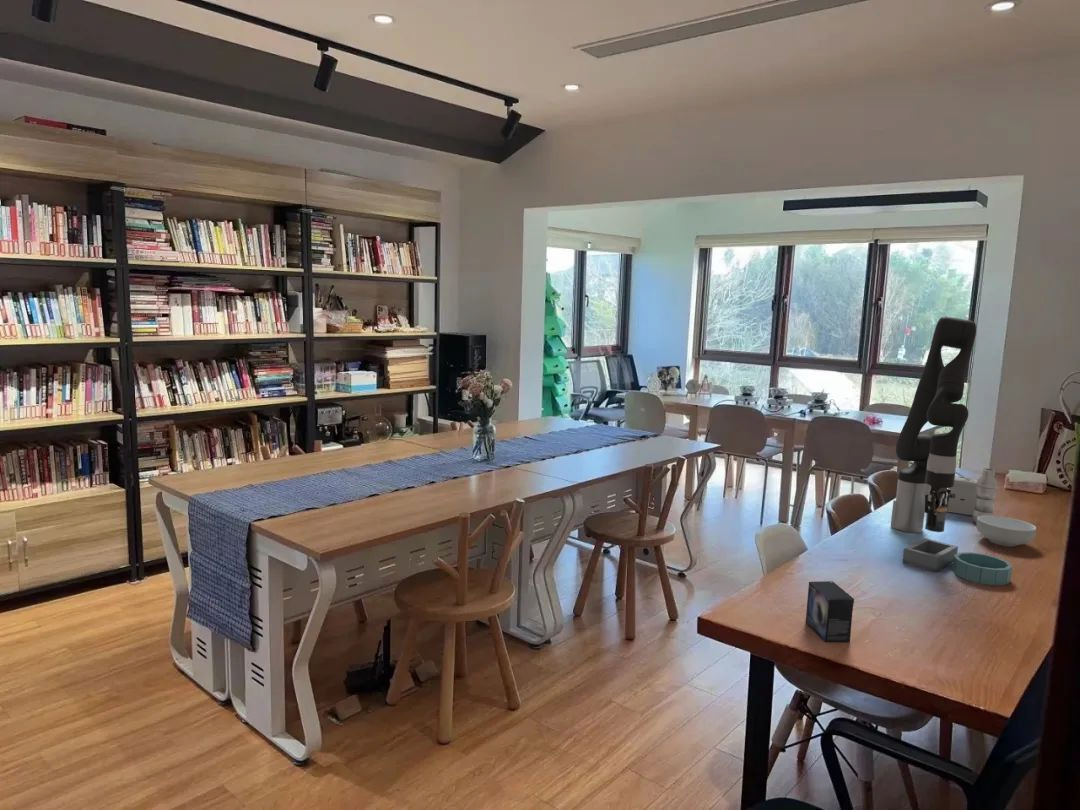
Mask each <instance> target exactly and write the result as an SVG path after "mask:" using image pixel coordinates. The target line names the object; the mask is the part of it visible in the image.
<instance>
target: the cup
mask: <svg viewBox="0 0 1080 810" xmlns="http://www.w3.org/2000/svg"><path fill="white" fill-rule="evenodd" d="M951 571H952V572H953V573H954V575H956V576H958V577H960V578H961V579H963V580H966V581H970V582H974V583H977V584H981V585H989V586H1005V585H1006V586H1007V585H1008V584H1010V583H1011V581H1012V575H1013V574H1012V572H1013V565H1012V564H1011V563H1010V562H1009V561H1007V560H1005V559H1003V558H1001V557H997V556H993V555H989V554H985V553H979V552H969V551H966V552H965V551H964V552H957V554H955V555H954V560H953V563H952V570H951Z"/></svg>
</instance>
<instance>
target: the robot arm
mask: <svg viewBox="0 0 1080 810" xmlns="http://www.w3.org/2000/svg"><path fill="white" fill-rule="evenodd" d="M932 335H933V336H932V339H931V344H930V347H929V351H928V356H927V358H926V362H925V366H924V367H923V371H922V372H921V377H920V379H919V382H918V384H917V388H916V390H915V393H914V397H913V400H912V404H911V407H910V409H909V412H908V416H907V417H906V420H905V422H904V424H903V427H902V428H901V431H900V433H899V435H898V439H897V441H896V446H895V452H896V453H895V454H896V457H897V458H898V459H899V460H901V461H905V462H912V464H911V465H909V466H908V467H905V468H903V469H900V470H899V472H898V477H897V487H896V496H895V499H894V500H893V502H892V508H891V509H892V511H891V520H890V527H891V528H893V529H896V530H897V531H900V532H905V533H911V534H912V533H913V534H917V533H922V532H923V531H924V530H923V528H924V520H925V514H926V515H927V514H928V520H927V526H929V527H935V526H936V519H937V512H938V508H940V507H941V505H945V506H947V508H948V503H949V498H950V493H951V490H950V489H947V488H951V487H953V486H954V480H955V476H956V473H955V472H957V471H956V469H957V453H958V445H959V439H960V436H961V434H962V432H963V428H965V425H966V422H967V421H968V418H969V410H968V408H967V406H966V405H965V404H962V403H958V402H959V401H961V400H962V398H963V397H964V391H965V390H964V389H965V382H966V381H965V380H966V374H967V370H968V366H969V363H970V360H971V355H972V352H973V349H974V344H975V341H976V335H977V324H976V322H974V321H973V320H970V319H964V318H958V317H952V316H945V315H944V316H941V317H940V318H939V319H938V321H937V323H936V325H935V329H934V332H933V334H932ZM944 347H946V348H952V349H958V350H959V349H960V350H959V352H958V353H957V355H956V356H954V358H953V359H951V360H950V361H949V362H948V363H947V364H946V365H945V364H944V362H943V357H942V349H943V348H944ZM927 423H929V424H930V425H933V426H934V427H935V426H937V427H946V428H947V427H948V428H952V429H951V430H950V431H949V432H944V433H935V434H933V435H932V436H931V435H929V434H924V433H923V434H922V433H921V431H922V429H923V427H924V426H925V425H926V424H927ZM920 433H921V434H920ZM928 485H930V486H931V490H930V491H929V494H927V488H928ZM935 503H936V504H937V505H936V504H935ZM931 507H932V510H931Z"/></svg>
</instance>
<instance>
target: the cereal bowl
mask: <svg viewBox="0 0 1080 810" xmlns="http://www.w3.org/2000/svg"><path fill="white" fill-rule="evenodd" d="M975 523H976V522H975ZM976 529H977V531H978V532H979V534H980V535H982V537H985V538H986V539H988V540H989V542H990V543H992V544H995V545H999V546H1003V547H1013V548H1014V547H1017V546H1019V545H1025V544H1029V543H1030V542H1032V541H1033V540H1034V539H1035V537H1036V533H1037V526H1035V525H1033V524H1032V523H1030V522H1028V521H1024V520H1020V519H1018V518H1017V519H1016V518H1012V517H1006V516H998V515H994V516H988V515H985V516H979V517H977V523H976Z"/></svg>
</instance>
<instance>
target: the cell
mask: <svg viewBox="0 0 1080 810" xmlns="http://www.w3.org/2000/svg"><path fill="white" fill-rule="evenodd" d="M935 504H936V503H935ZM936 505H937V504H936ZM931 510H932V507H931ZM946 517H947V506H945V505H941V507H940V508H938V512H937V519H936V526H935V527H929V526H927V520H928V514H927V513H926V518H925V526H924V529H925V530H927V531H930V532H935V533H943V532H945V525H946Z"/></svg>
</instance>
